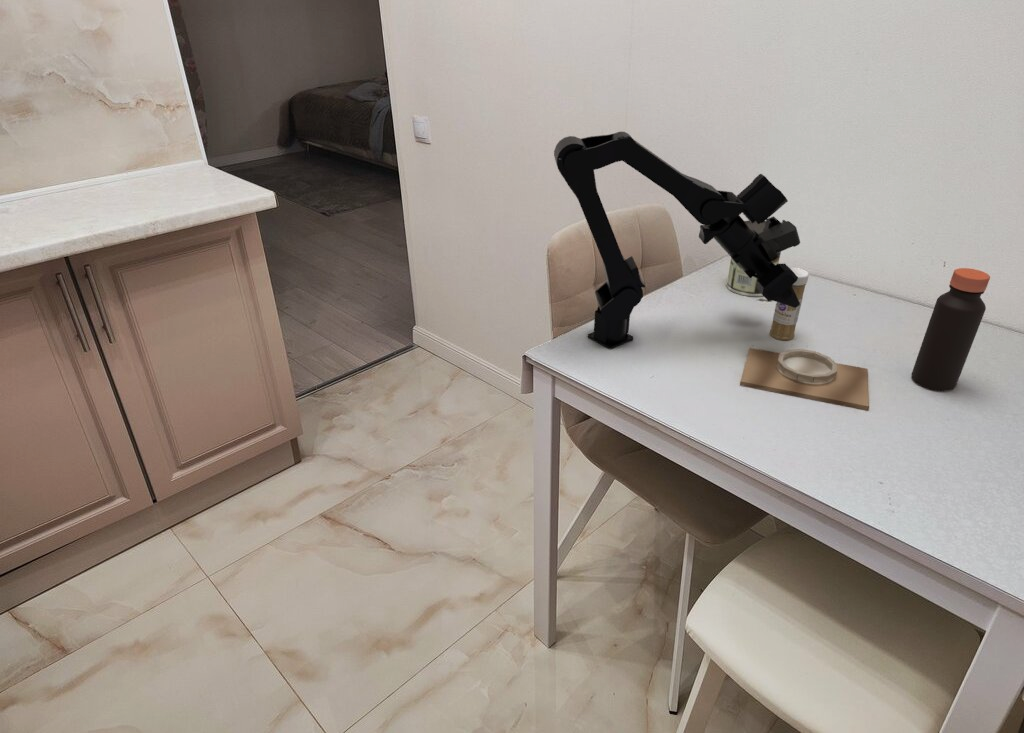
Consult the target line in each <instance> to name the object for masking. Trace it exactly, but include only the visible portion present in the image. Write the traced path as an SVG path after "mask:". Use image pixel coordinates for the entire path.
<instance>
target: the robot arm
mask: <svg viewBox="0 0 1024 733" xmlns="http://www.w3.org/2000/svg"><path fill="white" fill-rule="evenodd" d="M553 156H554V160H555V163H556V167H557V169H558V172H559V173H560V175H561V177H562V178H563V179H564V181H565V182H566V184H567V186H568V187H569V189H570V190H571V191H572V193H573V194H574V196H575V197H576V199H577V201H578V203H579V205H580V207H581V210H582V213H583V215H584V217H585V220H586V223H587V225H588V228H589V231H590V233H591V235H592V238H593V239H594V242H595V244H596V247H597V249H598V252H599V254H600V257H601V259H602V263H603V271H604V275H605V280H606V281H605V282H603V284H602V285H601V286H600V287H598V288H597V289H596V290H595V291H594V294H595V297H596V301H597V304H598V306H597V308H596V310H595V311H594V321H593V323H594V324H593V332H590V333H588V334H587V338H589V339H591V340H592V341H595V342H596V343H598V344H600V345H602V346H603V347H606V348H607V349H614V348H617V347H618V346H621V345H623V344H626V343H628V342H630V341H633V340H634V336H633V335H631V334H629V331H630V330H629V329H630V318H631V314H632V312H633V310H634V308H635V307H636V306H638V305H639V303H640V302H642V299H643V297H644V291H643V288H646V285H645V283H644V281H643V279H642V277H641V274H640V271H639V267H638V266H637V263H636V261H635V259H634V257H633V256H632V255H631V256H630V257H628V258H627V259H626V258H625V256H624V255H623V254H622V251H621V249H620V246H619V243H618V240H617V238H616V236H615V233H614V231H613V228H612V226H611V222H610V221H609V219H608V215H607V213H606V210H605V208H604V205H603V203H602V200H601V198H600V195H599V192H598V189H597V183H596V176H595V170H598V169H601V168H604V167H608V166H610V165H611V164H614V163H618V162H624V163H625V164H626V165H628V166H629V167H631V168H633V169H634V170H635V171H637V172H638V173H640V174H641V175H643V176H644V177H645V178H647V179H649V180H650V181H652V182H653V183H654V184H656V185H657V186H658V187H660V188H661V189H662V190H665V192H667V193H669V194H670V195H671V196H673V197H674V198H675V199H676V200H677V201H678V202H679V203H680V205H682V207H684V209H685V210H686V211H687V212H688V213H689V214H690V215H691V216H692V217H693V219H695V220H696V222H698V223H699V224H700V226H699V229H700V230H699V233H698V238H699V240H701V242H702V243H703V244H704V245H707V244H709V242H711V241H712V240H713V239H714V240H715V241H716V242H717V244H719V246H720V247H721V248H722V249H723V250H724V251H725V252H726V253H727V254H728V256H729V257H730V259H731V258H732V259H733V260H734V261H735V263H736V264H737V265H738V266H739V267H740V268H741V269H742V270H743V271H744V272H745V273H746V274H747V275H748V276H749V277H750V278H751V277H755V278H757V279H758V280H757V284H756V288H757V289H758V290H759V291H760V292H761V294H762V295H763V296H762V297H764V298H765V299H766V301H768V302H776V303H777V302H779V303H782V304H785V305H788V306H791V307H794V308H796V307H798V306H799V305H800V302H799V300H798V298H797V296H796V294H795V292H794V289H793V287H792V285H793V284H794V283H795V282H796V281H797V279H798V277H797V276H796V275H795V273H794V272H793V271H792V270H791V269H790V268H791V267H789V266H788V265H787V264H786V263H778V264H777V265H774V264H773V263H772V261H774V260H775V259H777V258H778V257H779V256H778V255H777V254H776V253H777V252H781V253H782V252H783V251H785V250H788V249H790V248H792V247H793V248H795V247H797V246H800V244H801V240H800V237H799V236H800V235H799V232H798V230H797V229H798V228H797V226H795V224H794V223H792V222H791V221H790V220H785V219H783V220H781V221H780V220H778V218H776V216H774V215H773V214H775V213H776V212H778V211H779V209H781V208H782V207H783V206H784V205H785V204H786V203H788V199H787V197H786V196H785V195H784V194H783V192H782V191H781V190H780V189H779V188H777V187H776V186H775V185H774V184H772V182H771V181H770V180H769V179H768V178H767V177H766V176H765V175H764V174H763V173H760V174H758V175H757V176H756V177H755V178H754V179H753V180H752V181H751V183H749V184H748V185H747V186H746V187H744V189H743V190H741V192H739V193H738V194H737V195H736V194H735V193H734V192H732V191H727V190H719V189H718V190H717V189H716V188H715V187H714V186H713V185H711V184H709V183H707V182H705V181H702V180H700V179H698V178H695V177H692V176H689V175H687V174H684V173H683V172H680V170H678V169H677V168H675V167H674V166H672V165H671V164H669V163H668V162H666V161H665V160H664V159H663V158H661V157H659V156H658V155H657V154H655V153H653V151H651V150H649V149H648V148H647V147H645V146H644V145H642V144H641V143H639V142H638V141H637V140H635V139H634V138H633V137H632V136H631V135H630V134H629V133H628V132H625V131H618V132H614V133H610V134H602V135H591V136H587V137H581V138H579V137H577V136H574V135H573V136H572V135H568V136H565V137H563V138H562V139H560V140H559V141H558V143H556V145H555V148H554V151H553ZM741 214H743V215H744V216H745V218H746V219H747V221H750V222H751V223H752V224H753V223H754V222H755V221H756V222H757V223H758V224H760V223H761V224H762V223H763V222H764V221H766V223H765V228H764V229H763V232H761V233H759V234H757V233H756V231H755V230H752V229H751V228H750V227H749V226H748V225H747V224H746V222H745V221H746V220H744V219H743V217H742V216H741ZM772 215H773V216H772Z"/></svg>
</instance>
